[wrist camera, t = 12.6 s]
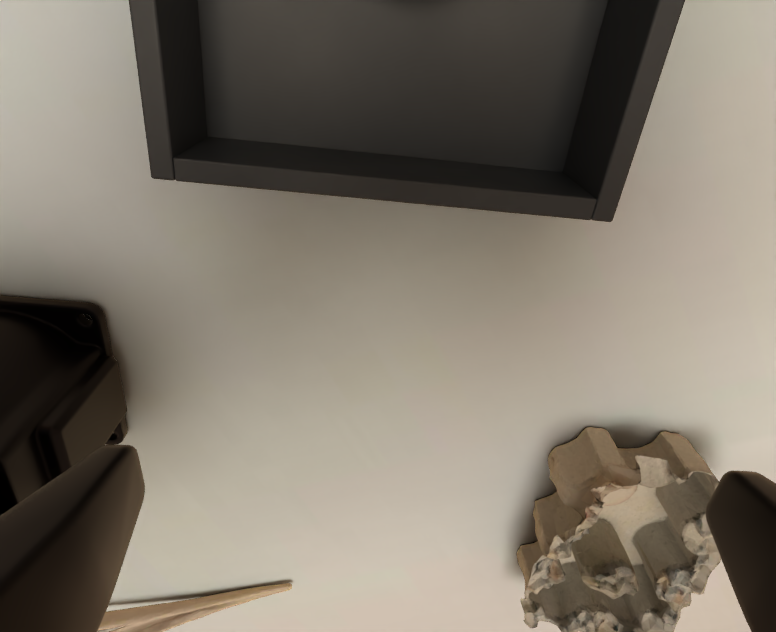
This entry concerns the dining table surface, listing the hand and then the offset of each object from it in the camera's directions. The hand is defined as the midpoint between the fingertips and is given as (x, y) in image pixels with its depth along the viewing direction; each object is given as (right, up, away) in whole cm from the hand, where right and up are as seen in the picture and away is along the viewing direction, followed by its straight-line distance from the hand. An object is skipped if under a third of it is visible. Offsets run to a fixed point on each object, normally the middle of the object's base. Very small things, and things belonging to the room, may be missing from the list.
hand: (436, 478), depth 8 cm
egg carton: (+10, -7, +17) cm, 20 cm away
